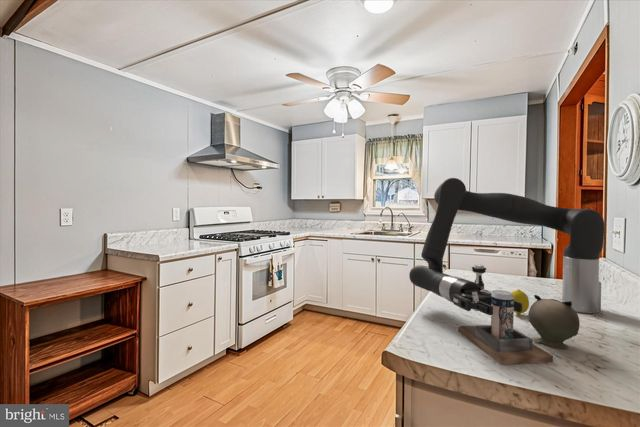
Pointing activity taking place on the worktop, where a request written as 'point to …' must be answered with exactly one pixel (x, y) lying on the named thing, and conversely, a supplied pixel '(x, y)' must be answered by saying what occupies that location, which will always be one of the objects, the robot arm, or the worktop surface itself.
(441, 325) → the worktop surface
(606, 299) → the worktop surface
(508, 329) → the beer can
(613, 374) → the worktop surface
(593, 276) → the robot arm
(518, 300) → the lemon
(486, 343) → the walnut dock
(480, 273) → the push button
